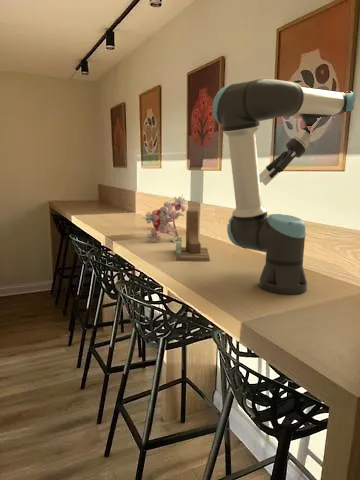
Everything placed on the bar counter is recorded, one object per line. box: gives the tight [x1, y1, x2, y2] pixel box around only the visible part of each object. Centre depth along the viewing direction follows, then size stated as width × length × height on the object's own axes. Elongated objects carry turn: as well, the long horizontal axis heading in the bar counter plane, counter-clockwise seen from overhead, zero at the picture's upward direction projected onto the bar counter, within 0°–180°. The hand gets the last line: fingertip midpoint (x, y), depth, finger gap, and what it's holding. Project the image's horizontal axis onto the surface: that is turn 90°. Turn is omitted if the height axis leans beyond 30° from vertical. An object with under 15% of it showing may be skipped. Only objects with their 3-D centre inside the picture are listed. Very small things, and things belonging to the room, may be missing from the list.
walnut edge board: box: [175, 236, 210, 262], centre depth 168 cm, size 20×14×6 cm
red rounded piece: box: [151, 208, 163, 231], centre depth 233 cm, size 10×10×14 cm
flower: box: [142, 194, 186, 244], centre depth 198 cm, size 20×22×25 cm
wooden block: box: [185, 209, 202, 254], centre depth 167 cm, size 9×4×18 cm, turn 13°
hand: (259, 182), depth 153 cm, fingers open, 13 cm apart
